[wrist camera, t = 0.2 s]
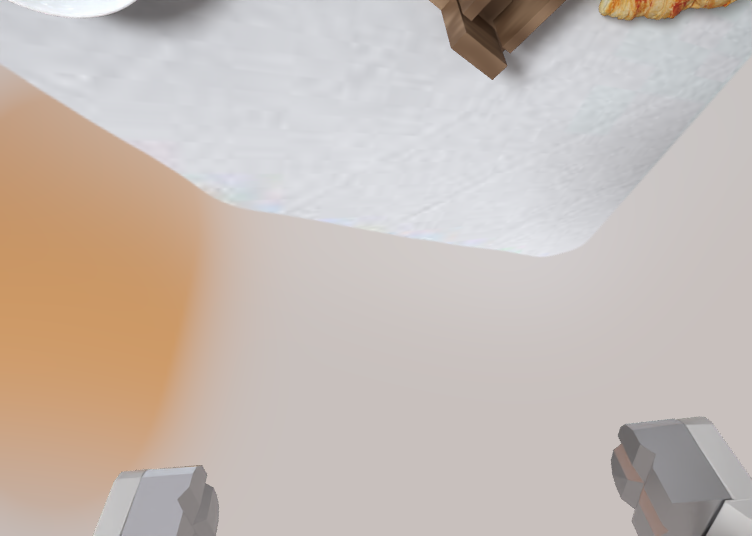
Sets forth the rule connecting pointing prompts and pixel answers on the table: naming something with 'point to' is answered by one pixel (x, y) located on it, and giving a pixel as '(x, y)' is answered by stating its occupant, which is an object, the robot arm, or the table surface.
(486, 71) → the wooden shelf
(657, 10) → the croissant
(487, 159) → the table surface
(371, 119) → the table surface
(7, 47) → the table surface
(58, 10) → the serving bowl
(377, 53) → the table surface
